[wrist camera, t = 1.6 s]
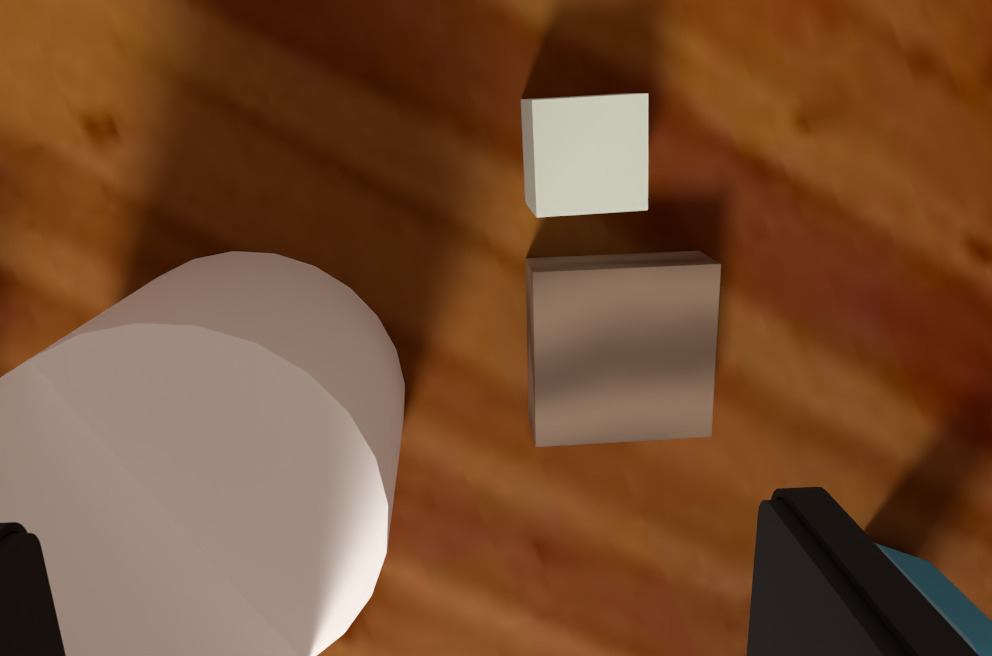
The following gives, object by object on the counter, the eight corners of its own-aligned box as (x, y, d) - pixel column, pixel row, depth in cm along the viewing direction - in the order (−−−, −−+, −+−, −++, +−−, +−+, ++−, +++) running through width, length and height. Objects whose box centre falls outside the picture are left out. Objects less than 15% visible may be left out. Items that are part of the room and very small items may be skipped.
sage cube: (520, 99, 41) (531, 99, 36) (622, 93, 41) (648, 93, 36) (525, 202, 42) (536, 217, 37) (623, 196, 43) (648, 210, 37)
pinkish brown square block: (524, 256, 44) (533, 272, 40) (697, 249, 44) (721, 264, 40) (528, 418, 47) (535, 446, 43) (689, 409, 47) (711, 436, 43)
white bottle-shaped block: (234, 574, 48) (-29, 1175, 21) (38, 360, 43) (-621, 792, 17) (462, 429, 46) (485, 891, 19) (283, 189, 41) (-13, 364, 15)
